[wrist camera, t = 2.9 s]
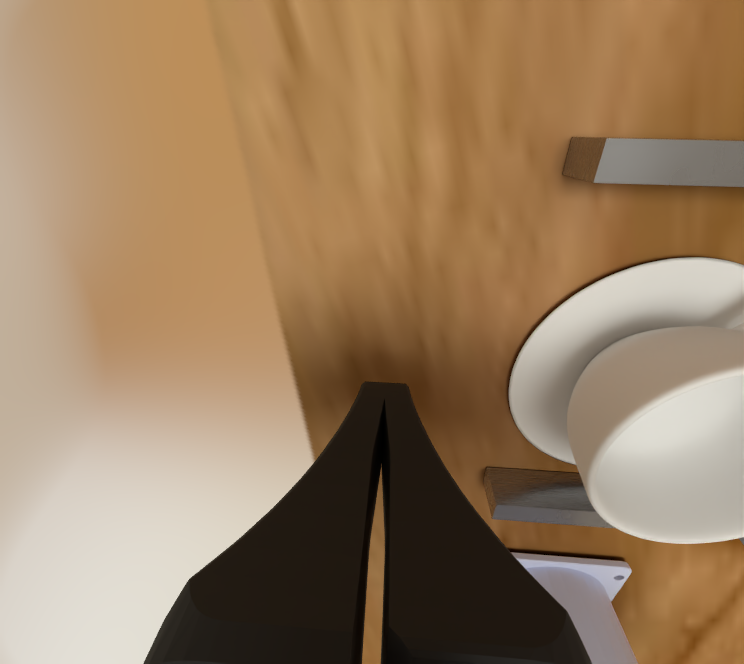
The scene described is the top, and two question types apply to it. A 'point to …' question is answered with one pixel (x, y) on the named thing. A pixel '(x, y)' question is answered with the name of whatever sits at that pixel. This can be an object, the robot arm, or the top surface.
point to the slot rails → (622, 166)
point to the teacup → (646, 397)
